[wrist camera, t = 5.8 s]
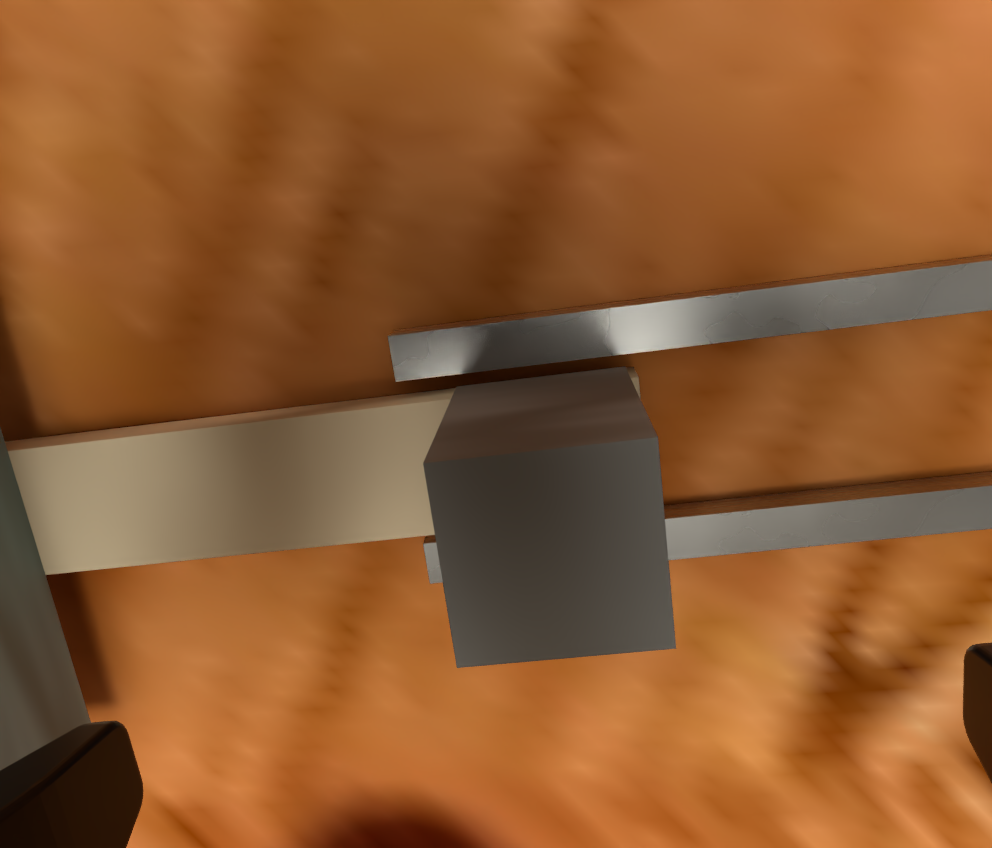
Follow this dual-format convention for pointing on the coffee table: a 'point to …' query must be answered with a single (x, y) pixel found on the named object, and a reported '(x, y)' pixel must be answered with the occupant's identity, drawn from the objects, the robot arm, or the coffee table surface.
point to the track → (733, 319)
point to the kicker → (355, 517)
